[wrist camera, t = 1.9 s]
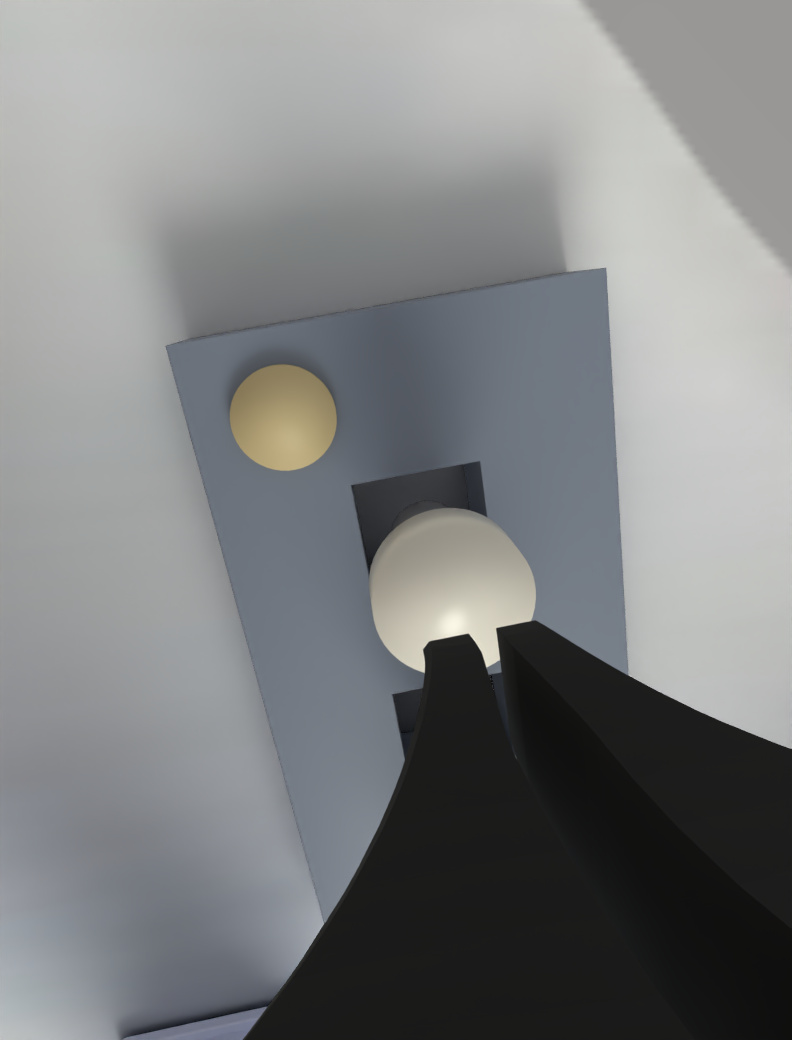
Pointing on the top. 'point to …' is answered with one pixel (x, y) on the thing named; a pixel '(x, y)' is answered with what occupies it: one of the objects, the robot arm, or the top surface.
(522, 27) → the top surface
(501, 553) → the knob
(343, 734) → the console
